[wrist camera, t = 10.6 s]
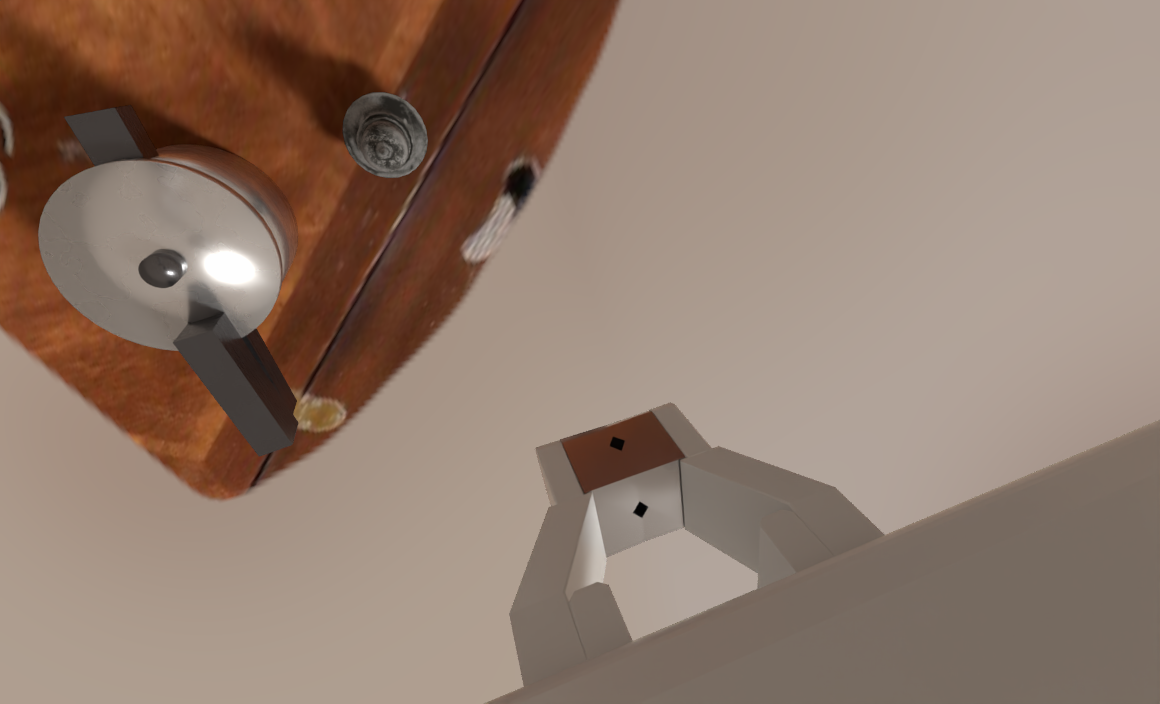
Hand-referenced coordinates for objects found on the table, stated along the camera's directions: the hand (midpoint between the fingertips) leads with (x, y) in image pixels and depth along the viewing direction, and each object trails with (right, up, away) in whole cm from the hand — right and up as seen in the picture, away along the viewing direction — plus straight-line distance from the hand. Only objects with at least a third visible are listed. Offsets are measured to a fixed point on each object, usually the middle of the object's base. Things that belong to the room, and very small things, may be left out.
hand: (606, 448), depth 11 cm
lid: (-26, +5, +25) cm, 36 cm away
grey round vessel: (-16, +20, +31) cm, 40 cm away
